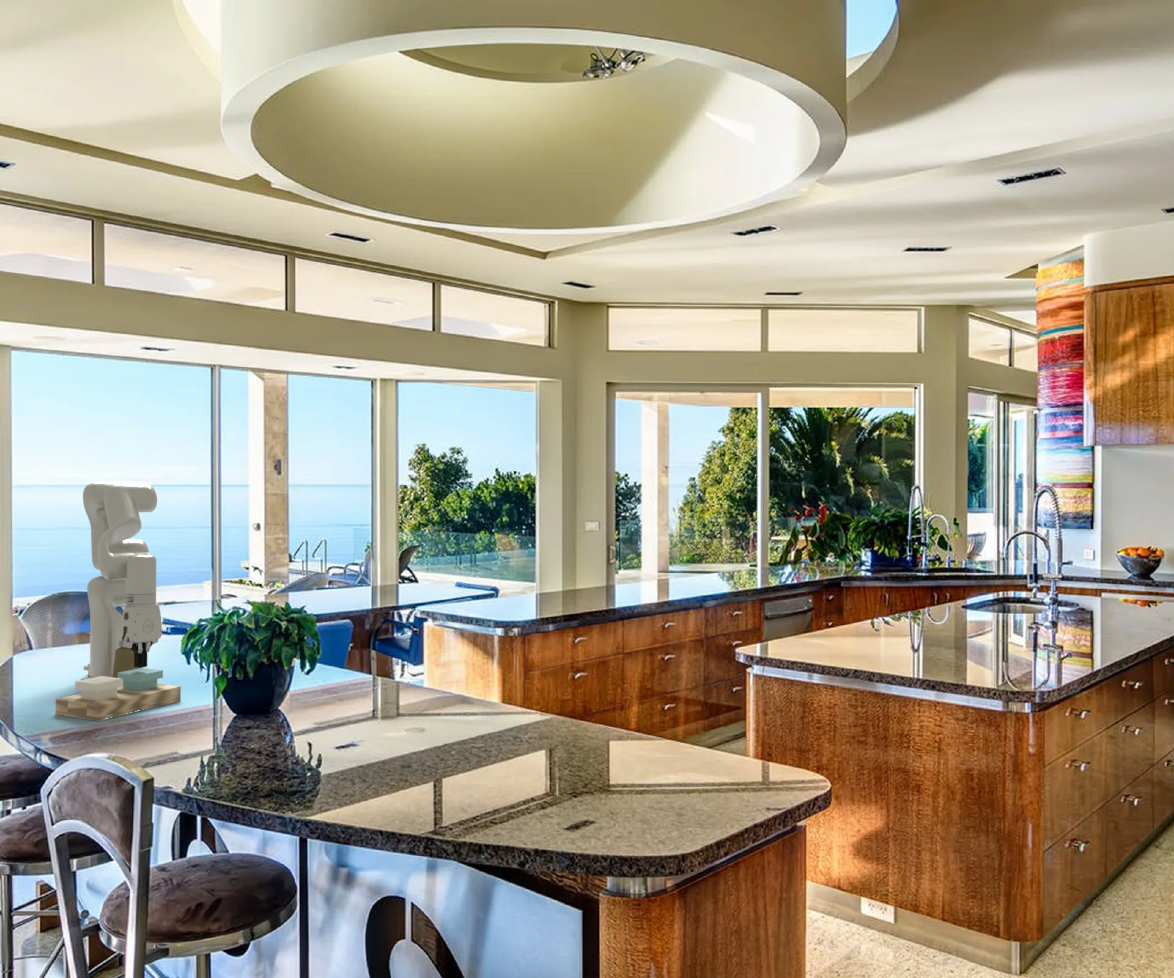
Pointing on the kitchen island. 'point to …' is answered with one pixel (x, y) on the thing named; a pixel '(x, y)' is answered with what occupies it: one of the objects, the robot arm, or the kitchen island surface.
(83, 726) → the kitchen island surface
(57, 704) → the light wood flat block
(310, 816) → the kitchen island surface
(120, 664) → the squeeze bottle
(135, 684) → the teal key
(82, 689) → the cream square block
